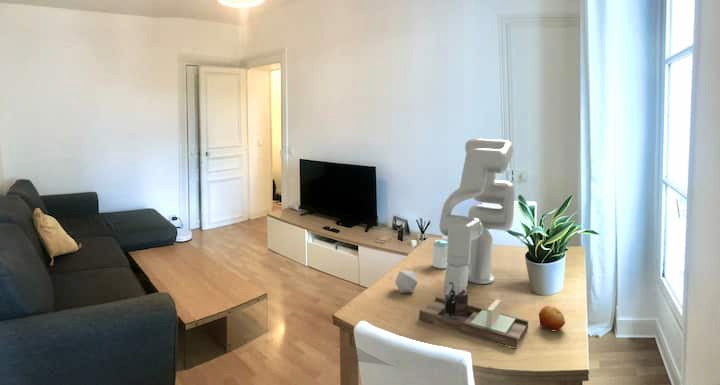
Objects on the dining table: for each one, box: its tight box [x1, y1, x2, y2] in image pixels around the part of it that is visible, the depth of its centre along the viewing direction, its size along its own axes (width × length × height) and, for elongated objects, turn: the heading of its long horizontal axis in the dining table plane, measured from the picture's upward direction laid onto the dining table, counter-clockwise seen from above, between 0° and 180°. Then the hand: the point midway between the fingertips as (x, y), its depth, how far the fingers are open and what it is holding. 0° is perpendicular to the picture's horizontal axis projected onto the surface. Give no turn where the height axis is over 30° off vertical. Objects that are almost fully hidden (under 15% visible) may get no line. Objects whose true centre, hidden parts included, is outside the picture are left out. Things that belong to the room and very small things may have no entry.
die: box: [394, 270, 419, 294], centre depth 173 cm, size 8×9×10 cm
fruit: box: [538, 305, 566, 331], centre depth 145 cm, size 8×8×8 cm
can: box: [432, 238, 448, 270], centre depth 199 cm, size 7×7×12 cm
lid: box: [470, 298, 515, 334], centre depth 142 cm, size 11×11×6 cm
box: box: [444, 290, 469, 316], centre depth 149 cm, size 6×6×7 cm
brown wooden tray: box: [418, 296, 529, 349], centre depth 147 cm, size 14×32×3 cm, turn 56°
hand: (455, 307), depth 149 cm, fingers closed on box, 8 cm apart
